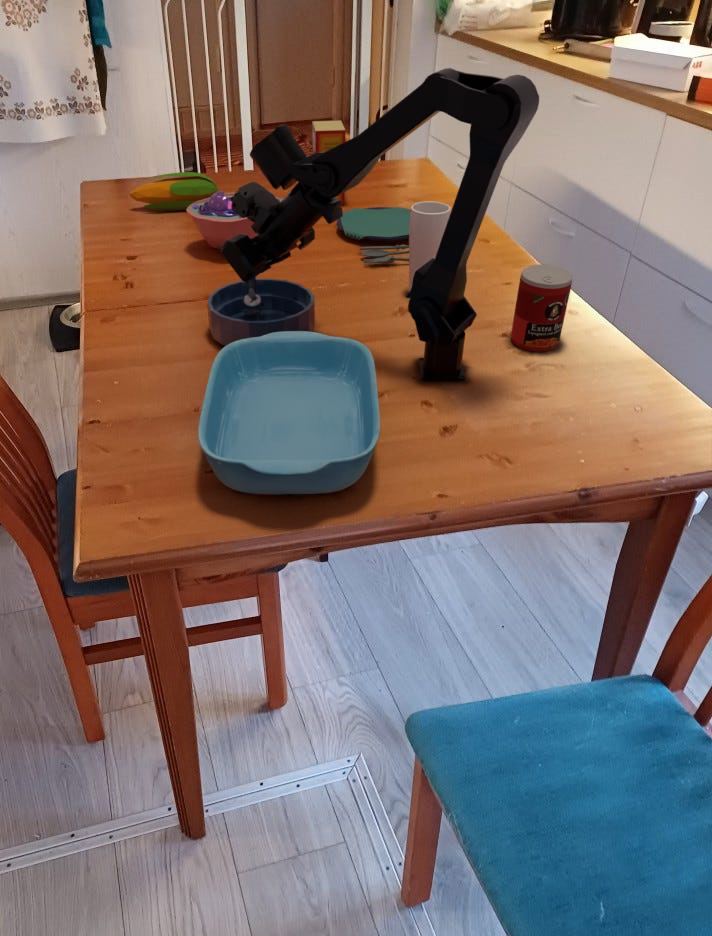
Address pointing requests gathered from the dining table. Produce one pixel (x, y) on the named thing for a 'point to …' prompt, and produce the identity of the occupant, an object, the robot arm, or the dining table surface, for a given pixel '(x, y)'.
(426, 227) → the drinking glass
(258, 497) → the dining table surface
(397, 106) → the robot arm
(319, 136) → the baking soda box
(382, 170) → the dining table surface
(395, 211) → the cutlery set
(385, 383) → the dining table surface
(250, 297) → the silver metal pestle
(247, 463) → the casserole dish
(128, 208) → the dining table surface
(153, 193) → the corn
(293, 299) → the dark blue round bowl
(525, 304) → the canned food
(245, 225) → the cell model
